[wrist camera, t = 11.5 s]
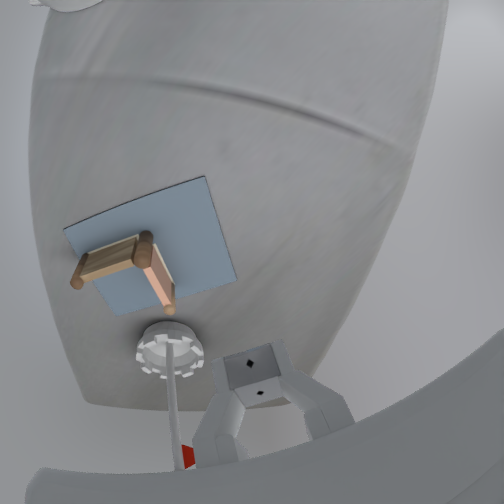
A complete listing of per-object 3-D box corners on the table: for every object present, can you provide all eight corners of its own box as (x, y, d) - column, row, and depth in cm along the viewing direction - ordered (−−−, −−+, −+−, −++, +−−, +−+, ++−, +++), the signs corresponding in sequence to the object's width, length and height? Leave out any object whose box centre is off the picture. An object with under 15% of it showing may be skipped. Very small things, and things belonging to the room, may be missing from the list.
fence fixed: (79, 254, 39) (67, 279, 33) (150, 228, 40) (145, 252, 34) (85, 265, 40) (75, 291, 34) (155, 240, 41) (152, 265, 35)
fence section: (155, 245, 41) (152, 267, 36) (176, 288, 46) (177, 313, 41) (144, 248, 40) (140, 271, 36) (166, 291, 45) (166, 316, 41)
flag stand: (148, 361, 56) (154, 492, 31) (128, 321, 48) (122, 478, 24) (205, 354, 58) (231, 487, 33) (195, 312, 51) (220, 473, 26)
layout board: (63, 229, 36) (62, 230, 36) (204, 176, 38) (204, 176, 37) (116, 315, 47) (116, 316, 47) (236, 279, 48) (237, 280, 48)
